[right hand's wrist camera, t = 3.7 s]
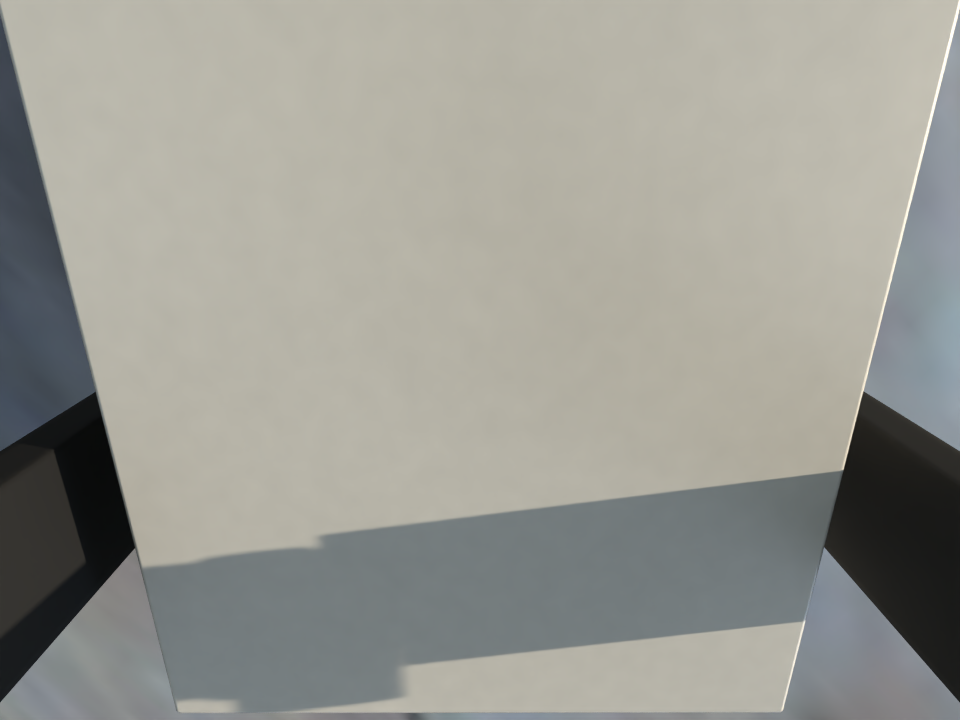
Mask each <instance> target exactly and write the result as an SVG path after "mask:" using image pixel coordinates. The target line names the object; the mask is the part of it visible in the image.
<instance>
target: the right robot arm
mask: <svg viewBox="0 0 960 720" xmlns="http://www.w3.org/2000/svg"><path fill="white" fill-rule="evenodd" d="M824 547H825V548H826V550H827V551H828V552H829V553H830V554H831V555H832V556H833V558H834V559H835V560H836V561H837V562H838V563H839V564H840V566H841V567H842V568H843V569H844V570H845V571H846V572H847V574H848V575H849V576H850V577H851V578H852V579H853V580H854V582H855V583H856V584H857V585H858V586H859V587H860V589H861V590H862V591H863V592H864V593H865V594H866V595H867V597H868V598H869V599H870V600H871V601H872V602H873V603H874V605H875V606H876V607H877V608H878V609H879V610H880V611H881V613H882V614H883V615H884V616H885V617H886V618H887V619H888V621H889V622H890V623H891V624H892V625H893V626H894V627H895V629H896V630H897V631H898V632H899V633H900V634H901V635H902V637H903V638H904V639H905V640H906V641H907V642H908V644H909V645H910V646H911V647H912V648H913V649H914V650H915V652H916V653H917V654H918V655H919V656H920V657H921V658H922V660H923V661H924V662H925V663H926V664H927V665H928V666H929V668H930V669H931V670H932V671H933V672H934V673H935V674H936V676H937V677H938V678H939V679H940V680H941V681H942V682H943V684H944V685H945V686H946V687H947V688H948V689H949V691H950V692H951V693H952V694H953V695H954V696H955V697H956V699H957V700H958V701H959V702H960V451H958V450H957V449H955V448H953V447H952V446H950V445H949V444H947V443H945V442H944V441H942V440H941V439H939V438H937V437H936V436H934V435H933V434H931V433H929V432H928V431H926V430H925V429H923V428H921V427H920V426H918V425H917V424H915V423H913V422H912V421H910V420H908V419H907V418H905V417H904V416H902V415H900V414H899V413H897V412H896V411H894V410H892V409H891V408H889V407H888V406H886V405H884V404H883V403H881V402H880V401H878V400H876V399H875V398H873V397H872V396H870V395H868V394H867V393H865V392H864V391H863V394H862V398H861V402H860V406H859V410H858V414H857V418H856V422H855V426H854V430H853V434H852V438H851V442H850V446H849V450H848V454H847V458H846V462H845V466H844V470H843V474H842V477H841V481H840V485H839V489H838V493H837V497H836V501H835V505H834V509H833V513H832V517H831V521H830V525H829V529H828V533H827V537H826V541H825V545H824ZM134 548H135V545H134V541H133V537H132V533H131V529H130V525H129V521H128V517H127V513H126V509H125V505H124V501H123V497H122V493H121V489H120V486H119V482H118V478H117V474H116V470H115V466H114V462H113V458H112V454H111V450H110V446H109V442H108V438H107V434H106V430H105V426H104V422H103V418H102V414H101V410H100V407H99V403H98V399H97V395H96V392H95V393H93V394H92V395H90V396H88V397H87V398H85V399H84V400H82V401H80V402H79V403H77V404H76V405H74V406H72V407H71V408H69V409H68V410H66V411H64V412H63V413H61V414H60V415H58V416H56V417H55V418H53V419H51V420H50V421H48V422H47V423H45V424H43V425H42V426H40V427H39V428H37V429H35V430H34V431H32V432H31V433H29V434H27V435H26V436H24V437H23V438H21V439H19V440H18V441H16V442H15V443H13V444H11V445H10V446H8V447H7V448H5V449H3V450H2V451H0V702H1V701H2V700H3V698H4V697H5V696H6V695H7V694H8V693H9V692H10V690H11V689H12V688H13V687H14V686H15V685H16V684H17V682H18V681H19V680H20V679H21V678H22V677H23V676H24V674H25V673H26V672H27V671H28V670H29V669H30V668H31V666H32V665H33V664H34V663H35V662H36V661H37V660H38V658H39V657H40V656H41V655H42V654H43V653H44V652H45V650H46V649H47V648H48V647H49V646H50V645H51V643H52V642H53V641H54V640H55V639H56V638H57V637H58V635H59V634H60V633H61V632H62V631H63V630H64V629H65V627H66V626H67V625H68V624H69V623H70V622H71V621H72V619H73V618H74V617H75V616H76V615H77V614H78V613H79V611H80V610H81V609H82V608H83V607H84V606H85V605H86V603H87V602H88V601H89V600H90V599H91V598H92V597H93V595H94V594H95V593H96V592H97V591H98V590H99V588H100V587H101V586H102V585H103V584H104V583H105V582H106V580H107V579H108V578H109V577H110V576H111V575H112V574H113V572H114V571H115V570H116V569H117V568H118V567H119V566H120V564H121V563H122V562H123V561H124V560H125V559H126V558H127V556H128V555H129V554H130V553H131V552H132V551H133V550H134Z"/></svg>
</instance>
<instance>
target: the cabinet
mask: <svg viewBox="0 0 960 720" xmlns="http://www.w3.org/2000/svg"><path fill="white" fill-rule="evenodd" d="M959 10H960V0H0V15H1V19H2V23H3V27H4V31H5V35H6V39H7V43H8V47H9V51H10V55H11V59H12V63H13V67H14V71H15V75H16V79H17V82H18V86H19V90H20V94H21V98H22V102H23V106H24V110H25V114H26V118H27V122H28V126H29V130H30V134H31V138H32V142H33V146H34V150H35V154H36V158H37V162H38V165H39V169H40V173H41V177H42V181H43V185H44V189H45V193H46V197H47V201H48V205H49V209H50V213H51V217H52V221H53V225H54V229H55V233H56V237H57V241H58V245H59V248H60V252H61V256H62V260H63V264H64V268H65V272H66V276H67V280H68V284H69V288H70V292H71V296H72V300H73V304H74V308H75V312H76V316H77V320H78V324H79V327H80V331H81V335H82V339H83V343H84V347H85V351H86V355H87V359H88V363H89V367H90V371H91V375H92V379H93V383H94V387H95V391H96V395H97V399H98V403H99V407H100V410H101V414H102V418H103V422H104V426H105V430H106V434H107V438H108V442H109V446H110V450H111V454H112V458H113V462H114V466H115V470H116V474H117V478H118V482H119V486H120V489H121V493H122V497H123V501H124V505H125V509H126V513H127V517H128V521H129V525H130V529H131V533H132V537H133V541H134V545H135V549H136V553H137V557H138V561H139V565H140V569H141V572H142V576H143V580H144V584H145V588H146V592H147V596H148V600H149V604H150V608H151V612H152V616H153V620H154V624H155V628H156V632H157V636H158V640H159V644H160V648H161V651H162V655H163V659H164V663H165V667H166V671H167V675H168V679H169V683H170V687H171V691H172V695H173V699H174V703H175V707H176V711H177V712H179V713H685V712H781V711H782V710H783V707H784V703H785V699H786V695H787V692H788V688H789V684H790V680H791V676H792V672H793V668H794V664H795V660H796V656H797V652H798V648H799V644H800V640H801V636H802V632H803V628H804V624H805V620H806V616H807V612H808V608H809V604H810V600H811V596H812V592H813V588H814V584H815V581H816V577H817V573H818V569H819V565H820V561H821V557H822V553H823V549H824V545H825V541H826V537H827V533H828V529H829V525H830V521H831V517H832V513H833V509H834V505H835V501H836V497H837V493H838V489H839V485H840V481H841V477H842V474H843V470H844V466H845V462H846V458H847V454H848V450H849V446H850V442H851V438H852V434H853V430H854V426H855V422H856V418H857V414H858V410H859V406H860V402H861V398H862V394H863V390H864V386H865V382H866V378H867V374H868V370H869V366H870V363H871V359H872V355H873V351H874V347H875V343H876V339H877V335H878V331H879V327H880V323H881V319H882V315H883V311H884V307H885V303H886V299H887V295H888V291H889V287H890V283H891V279H892V275H893V271H894V267H895V263H896V259H897V255H898V252H899V248H900V244H901V240H902V236H903V232H904V228H905V224H906V220H907V216H908V212H909V208H910V204H911V200H912V196H913V192H914V188H915V184H916V180H917V176H918V172H919V168H920V164H921V160H922V156H923V152H924V148H925V144H926V141H927V137H928V133H929V129H930V125H931V121H932V117H933V113H934V109H935V105H936V101H937V97H938V93H939V89H940V85H941V81H942V77H943V73H944V69H945V65H946V61H947V57H948V53H949V49H950V45H951V41H952V37H953V34H954V30H955V26H956V22H957V18H958V14H959Z"/></svg>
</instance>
